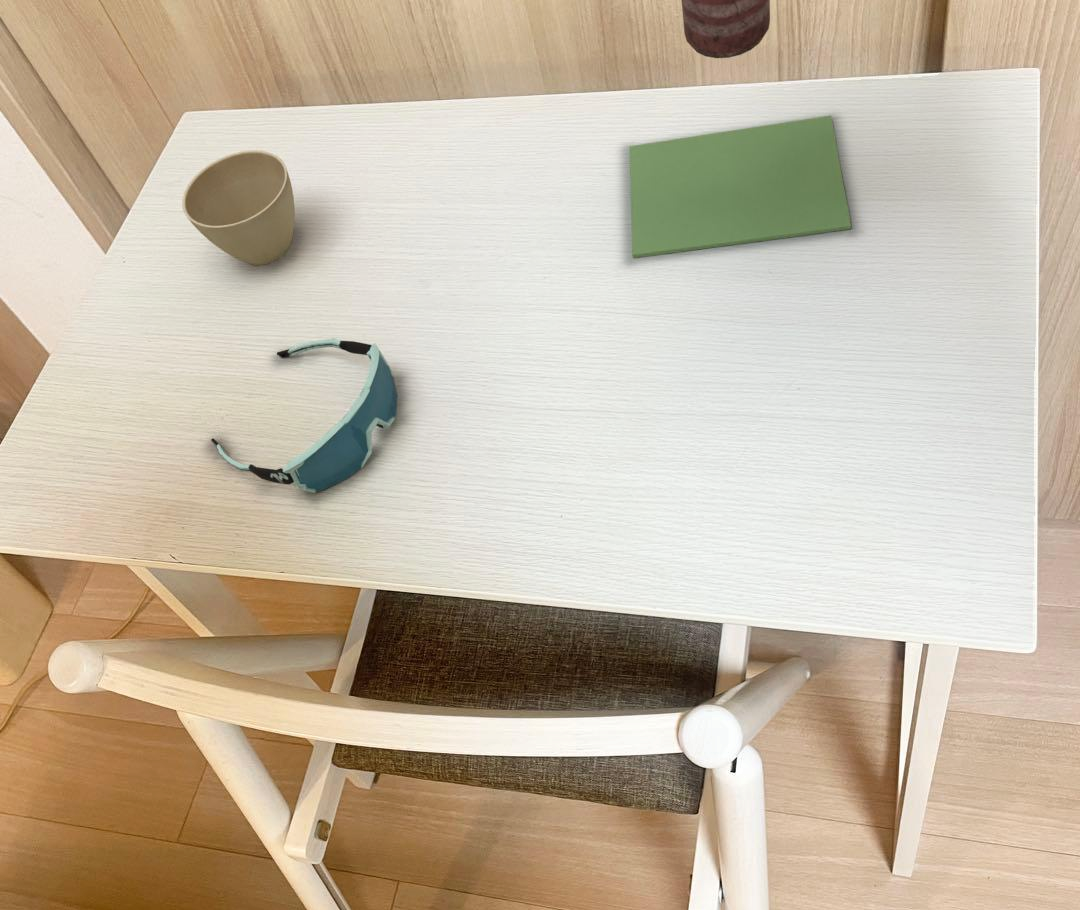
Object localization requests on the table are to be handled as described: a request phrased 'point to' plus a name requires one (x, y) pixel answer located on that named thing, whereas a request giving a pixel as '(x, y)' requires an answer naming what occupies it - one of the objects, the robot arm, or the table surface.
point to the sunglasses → (338, 427)
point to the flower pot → (244, 206)
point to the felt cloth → (736, 187)
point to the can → (725, 25)
